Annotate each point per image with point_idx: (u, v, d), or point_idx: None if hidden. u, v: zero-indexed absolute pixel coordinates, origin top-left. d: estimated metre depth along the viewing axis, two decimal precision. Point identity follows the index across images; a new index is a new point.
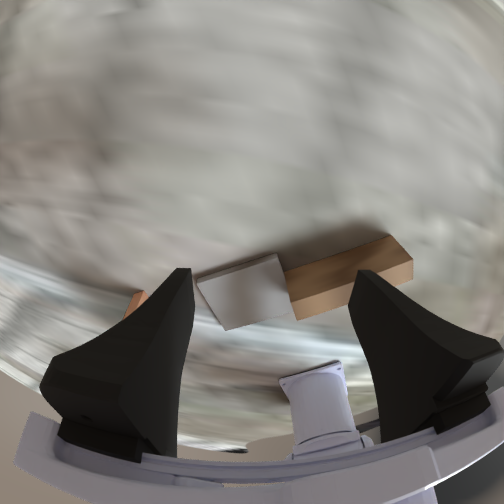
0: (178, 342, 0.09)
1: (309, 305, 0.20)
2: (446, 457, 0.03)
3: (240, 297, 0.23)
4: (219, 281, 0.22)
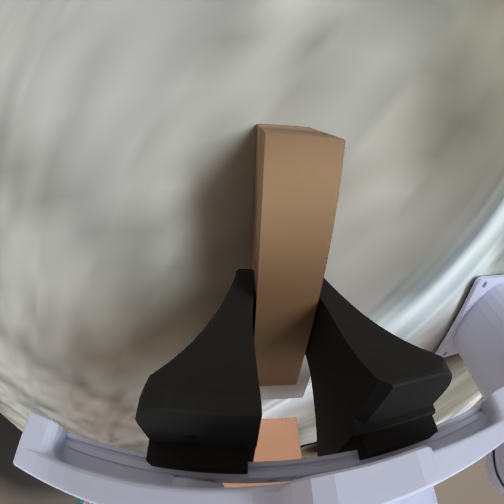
0: None
1: (272, 370, 0.10)
2: (446, 457, 0.03)
3: None
4: None
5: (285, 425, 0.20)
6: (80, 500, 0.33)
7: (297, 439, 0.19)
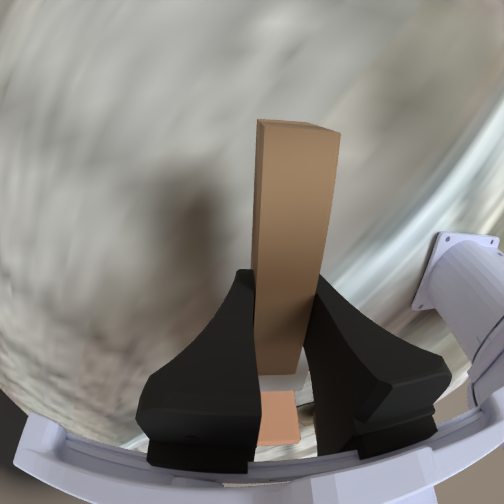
0: None
1: (271, 358, 0.11)
2: (446, 457, 0.03)
3: None
4: None
5: None
6: None
7: None
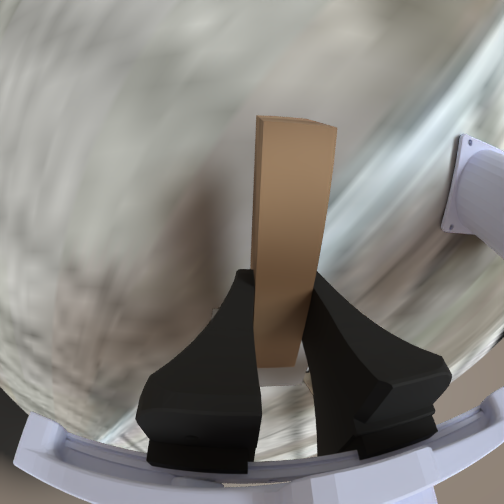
0: None
1: (271, 351, 0.11)
2: (446, 457, 0.03)
3: None
4: None
5: None
6: None
7: None
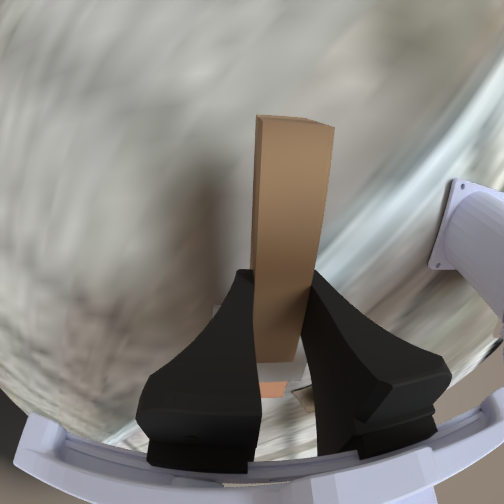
0: None
1: (270, 346, 0.11)
2: (446, 457, 0.03)
3: None
4: None
5: None
6: None
7: None
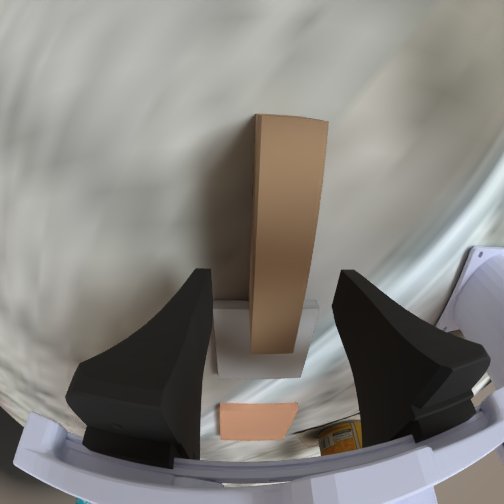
0: (201, 343, 0.09)
1: (270, 336, 0.12)
2: (446, 457, 0.03)
3: (256, 355, 0.17)
4: (223, 364, 0.17)
5: (285, 414, 0.22)
6: None
7: (291, 419, 0.23)
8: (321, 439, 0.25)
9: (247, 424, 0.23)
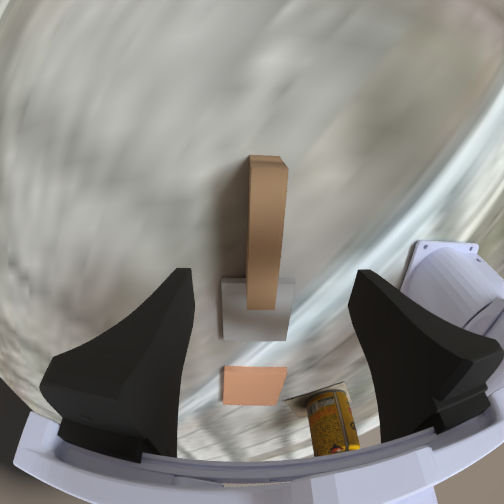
0: (178, 342, 0.09)
1: (259, 296, 0.19)
2: (446, 457, 0.03)
3: (251, 320, 0.24)
4: (227, 327, 0.25)
5: (277, 376, 0.29)
6: None
7: (282, 383, 0.30)
8: (308, 406, 0.33)
9: (245, 386, 0.30)
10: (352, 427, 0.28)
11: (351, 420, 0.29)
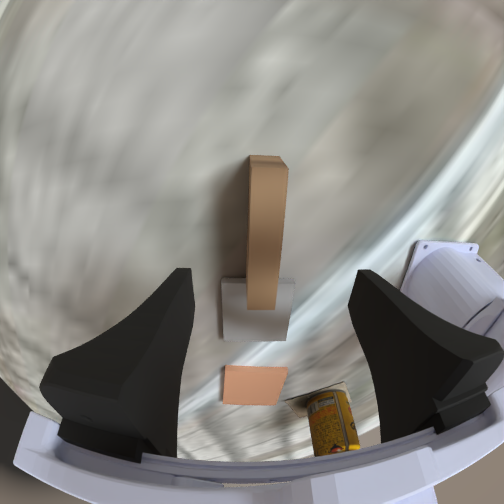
0: (178, 342, 0.09)
1: (259, 296, 0.19)
2: (446, 457, 0.03)
3: (251, 320, 0.24)
4: (227, 327, 0.25)
5: (277, 376, 0.29)
6: None
7: (282, 383, 0.30)
8: (308, 406, 0.33)
9: (246, 386, 0.30)
10: (352, 427, 0.28)
11: (351, 420, 0.29)
